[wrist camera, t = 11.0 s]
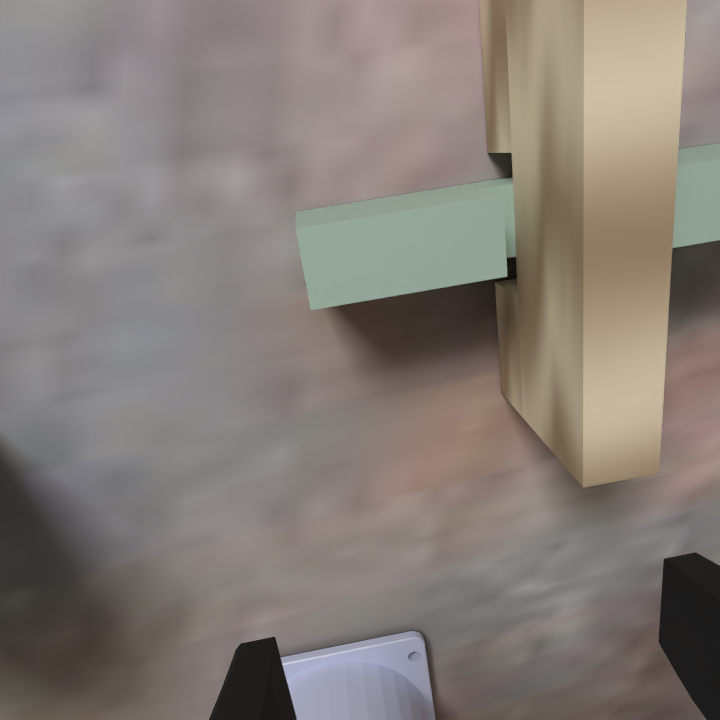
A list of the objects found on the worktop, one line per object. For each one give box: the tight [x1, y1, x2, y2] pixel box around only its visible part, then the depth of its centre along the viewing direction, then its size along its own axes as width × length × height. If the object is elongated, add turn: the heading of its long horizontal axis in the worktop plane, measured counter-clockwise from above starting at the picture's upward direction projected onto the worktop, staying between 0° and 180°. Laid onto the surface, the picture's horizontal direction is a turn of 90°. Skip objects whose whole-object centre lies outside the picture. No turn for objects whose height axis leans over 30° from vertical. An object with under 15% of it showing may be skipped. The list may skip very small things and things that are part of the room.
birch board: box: [479, 0, 687, 488], centre depth 15 cm, size 12×2×6 cm, turn 8°
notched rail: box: [296, 143, 720, 310], centre depth 16 cm, size 2×14×4 cm, turn 98°
